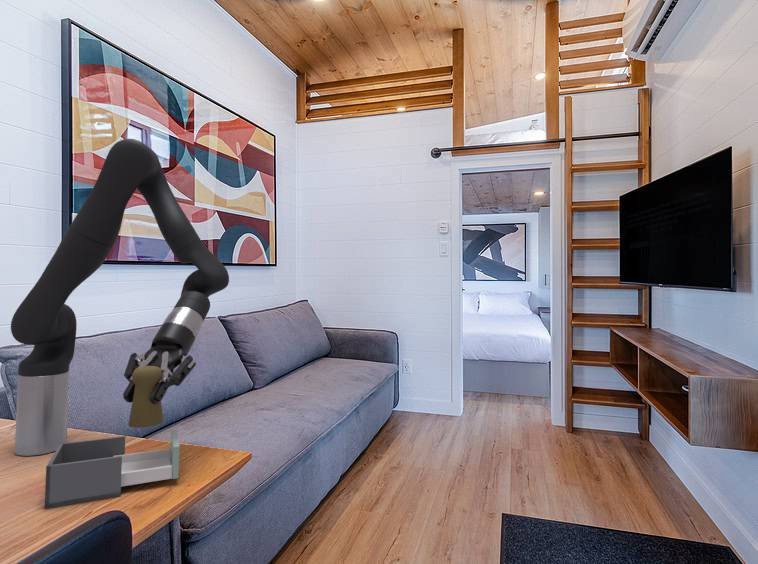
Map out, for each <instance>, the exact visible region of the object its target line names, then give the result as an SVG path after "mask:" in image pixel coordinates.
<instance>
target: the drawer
mask: <svg viewBox="0 0 758 564" xmlns="http://www.w3.org/2000/svg"><path fill="white" fill-rule="evenodd" d="M170 433H171V434H170V448H164V449H155V450H149V451H148V450H147V451H142V452H141V451H139V452H133V453H125V454H124V455H116V456H122V471H121V487H127V486H135V485H139V484H145V483H152V482H158V481H163V480H164V481H165V480H171V479H172V480H174V479H179V473H180V472H179V470H180V469H179V467H180V442H179V437H178V435H179V434H178V430H177V429H171V432H170ZM113 457H115V456H113Z"/></svg>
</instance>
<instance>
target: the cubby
mask: <svg viewBox="0 0 758 564" xmlns="http://www.w3.org/2000/svg"><path fill="white" fill-rule="evenodd" d="M124 454H126V435H123V436H121V435H120V436H113V437H105V438H95V439H88V440H85V439H84V440H77V441H71V442H69V441H67V442H66V443H60V444H59V446H58V448H57V449H56V451H54V453H53V455H52V457H50V459H49V461H48V463H47V465H46V467H45V468H46V469H45V487H44V490H45V491H44V510H46V509H54V508H59V507H66V506H71V505H78V504H82V503H88V502H95V501H99V500H108V499H112V498H118V497H121V493H122V487H123V486H122V487H121V471H122V456H116V455H124ZM113 456H115V457H113Z"/></svg>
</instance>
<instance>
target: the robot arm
mask: <svg viewBox="0 0 758 564" xmlns="http://www.w3.org/2000/svg"><path fill="white" fill-rule="evenodd" d="M168 182H169V181H168V180H167V178H166V175H165V173H164V170H163V168H162V164H161V162H160V160H159V157H158V154H157V153H156V152H155V150H153V149H152V148H151V147H149V146H148V145H147V144H145V143H144V142H142V141H140V140H138V139H135V138H124V139H120V140H119V141H116V143H114V144H113V145H112V146H111V148H110V149H109V151H108V152H107V156H106V158H105V160H104V162H103V164H102V167H101V169H100V172H99V175H98V176H97V179H96V182H95V183H94V185H93V188H92V189H91V191H90V193H89V194H88V196H87V197H86V199H85V200H84V202H83V203H82V206H81V207H80V208H79V210H78V211H77V214H76V216H75V217H74V218H73V220H72V222H71V223H70V225H69V227H68V229H67V230H66V232H65V234H64V235H63V237H62V239H61V240H60V243H59V245H58V247H57V248H56V251H55V252H54V254H53V255H52V257H51V258H50V261H48V262H49V263H48V264H47V265H46V267H45V268H44V270H43V272H42V274H40V275H41V276H40V277H39V278H38V280H37V281H36V283H35V285H34V286H33V287H32V289H31V290H30V291H29V292H28V294H27V295H26V296H25V298H23V300H22V301H21V303H20V304H19V305H18V307H17V309H16V311H15V312H14V314H13V316H12V317H11V321H10V331H11V334H12V337H13V339H14V340H15V341H16V342H18V343H20V344H22V345H30V346H31V345H33V348H32V351H31V352H30V354H29V355H28V356H26V357H25V358H24V359H22V360H21V361H20V362H19V363H18V368H17V370H18V371H17V393H16V414H15V415H16V416H15V432H14V433H15V434H14V437H15V438H14V454H15V455H17V456H21V457H23V456H26V457H27V456H28V457H29V456H38V455H45V454H49V453H53V452H55V451H56V449H57V448H58V446H59V444H60V443H67V442H68V425H69V423H68V420H69V380H70V379H69V378H70V364H71V362H72V360H73V358H74V355H75V347H76V340H77V339H76V337H77V325H78V324H77V317H76V313H75V311H74V310H73V309H72V308H71V306H70V305H67V304H66V301H67V300H68V298H69V297H70V296H71V294H72V293H73V292H74V291H75V290H76V289H77V287H79V286H80V285H81V284H83V282H85V281H86V280H87V279H88V278H89V277H91V276H92V275H93V274H94V273H96V271H97V270H98V269H100V268H101V266H102V265H104V262H105V261H106V260H107V258H108V256H109V255H110V252H111V251H112V249H113V247H114V245H115V244H116V242H117V240H118V237H119V235H120V231H121V228H122V223H123V217H124V214H125V211H126V207H127V205H128V204H129V201H130V199H131V198H132V196H133V195H134V193H135V192H136V190H137V191H138V192H139V193H140V194H141V195H142V197H143V198H144V200H145V202H146V203H147V205H148V207H149V209H150V210H151V212H152V214H153V216H154V218H155V222H156V224H157V226H158V228H159V231H160V233H161V236H163V239H164V240H165V242H166V244H167V245H168V247H169V249H170V251H171V253H172V254H173V255H174V257H175V258H176V260H177V261H178V262H179V263H181V264H189V263H190V264H192V265H194V267H196V268H197V270H195V271H193V272H192V273H190V274H189V275H188V276H187V277H186V279H185V280H184V283H183V286H182V289H181V292H180V298H179V299H178V301H177V302H176V303H175V305H174V307H173V308H172V310H171V312H170V313H169V314H167V316H166V318H165V319H164V321H163V323H162V324H161V326H160V327H159V329H158V330H157V332H156V334H155V335H154V337H153V339H152V342H151V346H150V348H149V349H148V350H147V351H146V352H145V353H144V354H143V353H142V354H137V352H132V353H131V354H130V356H129V359H128V362H127V365H126V369H125V371H124V374H123V377H124V378H125V379H126V380H127V381H128V382H129V383H128V385H127V387H126V388H125V389H124V391H123V392H122V396H123V397H122V399H123V400H124V401H125V402H126V403H131V404H132V401H133V395H134V389H135V383H134V382H133V380H132V374H133V372H134V370H135V369H136V368H139V367H143V366H157V367H159V368H160V369H161V371H162V376H161V378H160V382H158V383H157V385H156V386H155V388H154V390H153V392H152V394H151V396H150V398H149V399H150V401H151V402H152V403H153V404H158V402H159V401H161V402H162V400H163V399H164V396H165V395H166V392H167V391H168V389H170V388H171V387H172V386H176V387H178V386H181V384H182V383H183V382H184V380H186V379H187V377H188V375H189V374H190V373H191V372H192V370H193V369H194V368H195V367H196V365H197V362H196V361H195V359H194V357H192V355H190V354H189V352H190V350H191V349H192V346H193V345H194V343H195V341H196V339H197V337H198V335H199V333H200V331H201V328H202V325H203V323H204V321H205V319H206V317H207V316H208V313H209V311H210V309H211V302H210V299H209V297H210V296H212V295H214V294H216V293H218V292H221V291H223V290H225V289H226V288H227V287H228V286H229V284H230V283H229V282H230V276H229V273H228V270H227V268H226V266H225V265H224V264H223V263H222V262H221V260H219V258H217V256H216V255H214V254H213V253H212V251H210V250H209V249H208V248H207V247H206V246H205V245H204V243H203V241H202V239H201V238H200V236H199V234H198V233H197V231H196V229H195V228H194V227H193V225H192V223H191V221H190V220H189V218H188V216H187V215H186V214H185V212H184V211H183V208H182V207H181V206H180V203H179V202H178V200H177V198H176V197H175V195H174V193H173V191H172V188H171V187H170V185H169V183H168Z"/></svg>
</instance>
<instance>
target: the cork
mask: <svg viewBox="0 0 758 564" xmlns="http://www.w3.org/2000/svg"><path fill="white" fill-rule="evenodd" d="M161 376H162V371H161V369H160V368H159V367H157V366H143V367H139V368H136V369H135V370H134V372H133V374H132V380H133V382H134V383H135V389H134V395H133V401H132V402H131V408H130V415H129V420H128V426H129V427H130V428H135V429H139V428H140V429H142V428H149V427H150V428H151V427H156V426H158V425H161V424H162V423H163V422H164V416H163V415H164V414H163V408H162V407H163V405H162V400H161V401H159V402H158V404H153V403H152V402H151V401H150V399H149V398H150V396H151V394H152V392H153V390H154V388H155V386H156V385H157V383H158V382H161V381H160V378H161Z"/></svg>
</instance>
